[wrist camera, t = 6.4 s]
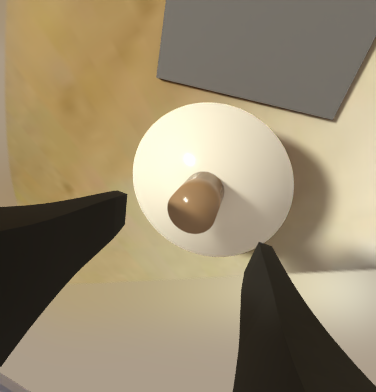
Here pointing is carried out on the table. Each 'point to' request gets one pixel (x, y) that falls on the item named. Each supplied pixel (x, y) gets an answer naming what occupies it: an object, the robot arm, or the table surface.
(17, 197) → the table surface
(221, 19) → the mat
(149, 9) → the table surface
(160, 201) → the lid
